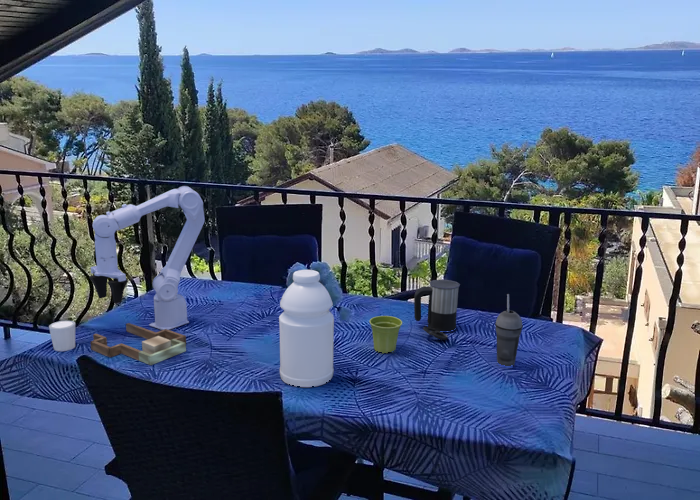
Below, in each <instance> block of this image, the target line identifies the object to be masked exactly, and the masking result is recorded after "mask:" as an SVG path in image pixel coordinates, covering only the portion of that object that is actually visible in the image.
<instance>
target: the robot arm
mask: <svg viewBox="0 0 700 500" xmlns="http://www.w3.org/2000/svg"><path fill="white" fill-rule="evenodd" d="M166 207H170V208H175V209H179V208H181V210H182V213H183V214H184V215H185V219H186V221H185V223H184V224H183V227H182V230H181V232H180V234H179V236H178V239H177V240H176V242H175V245H174V247H173V248H172V252H171V254H170V255H169V258H168V259H167V262H166V264H165V266H164V267H162V268H161V270H160V272H159V273H158V274H157V275H156V276H155V277H154V278H153V280H152V287H153V289H154V290H155V291H154V292H155V295H154V296H153V307H154V309H153V311H154V322H151V323H149V324H148V325H149V327H153V328H156V329H159V330H160V331H162V330H164V329H167V330H170V331H171V330H173V329H174V328H178V327H180V326H183V325H187V324H189V323H190V321H189V320H188V311H187V309H188V308H187V307H188V306H187V301H186V299H185V297H184V296H183V295H182V294H179V289H178V287H179V284H180V282H181V274H182V271H183V269H184V267H185V264H186V263H187V260H188V258H189V257H190V254H191V252H192V250H193V247H194V245H195V243H196V242H197V239H198V236H199V235H200V233H201V230H202V229H203V225H204V224H205V221H206V220H205V212H204V202H203V199H202V198H201V195H200V193H198V192H197V191H195V190H194V189H193V188H191V187H189V186H188V185H182V186H179V187H178V188H173V189H170V190H168V191H166V192H164V193H161V194H159V195H156V196H154V197H153V198H151V199H149V200H146V201H145V202H142V203H139V204H138V205H134V204H131V203H130V204H126V203H124V204H122V205H121V207H119V208H117V209H115V210H112V211H106V212H105V213H106V214H100V215H97V216H96V217H95V218H94V219H93V222H92V228H93V231H94V248H95V250H94V251H95V258H96V259H95V260H96V265H95V266H90V273H91V275H89V276H88V279H89V280H90V281H91V283H92V285H93V286H94V288H95V291H96V294H97V296H98V299H104V298H106V297H107V295H108V289H107V288H108V286H109V288H110V291H111V295H112V300H113V301H112V302H113V303H114V304H119V303H122V300H123V297H124V291H125V288H126V286H127V284H128V282H129V280H128V279H127V277H126V275H127V274H126V273H124V272H123V271H122V270H120V269H119V267H118V253H117V252H118V251H117V242H116V239H115V233H116V232H117V231H120V230H123V229H125V228H128V227H130V226H133V225H134V224H137V223H139V222H140V220H141V218H142V217H143V216H145V215H148V214H149V213H153V212H155V211H158V210H160V209H163V208H166ZM109 278H110V279H111V280H108V279H109ZM107 285H108V286H107Z"/></svg>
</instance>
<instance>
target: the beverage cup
mask: <svg viewBox="0 0 700 500" xmlns="http://www.w3.org/2000/svg"><path fill="white" fill-rule="evenodd" d="M506 296H507V297H506V308H507V309H506V310H504V311H502V312H500V313H499V314H498V316H497V318H496V320H495V323H494V326H495V333H496V361H497V362H498V363H499V364H501V365H505V366H511V365H514V366H515V363H516V360H517V353H518V347H519V343H520V337H521V334H522V330H523V327H524V326H523V320H522V318H521V316H520V315H519V314H518V313H517V312H516V311H514V310H510V294H509V293H507V294H506ZM497 362H496V363H497Z"/></svg>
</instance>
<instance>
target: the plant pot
mask: <svg viewBox="0 0 700 500" xmlns="http://www.w3.org/2000/svg"><path fill="white" fill-rule="evenodd" d="M369 324H370V328H371V330H372V332H371V333H372V339H373V341H372V343H373V349H374V350H375V352H377V351H378V352H377V353H379V352H382V353H381V354H384V353H386V354H389V353H388V352H392V351H394V350H395V351H396V349H397V343H398V337H399V334H400V333H399V331H400V329H401V326H402V325H403V321H402V320H401V319H400V318H398V317H396V316H390V315H378V316H374V317H372V318H370V319H369ZM395 351H394V352H395ZM392 353H393V352H392Z"/></svg>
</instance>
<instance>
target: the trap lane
mask: <svg viewBox="0 0 700 500" xmlns="http://www.w3.org/2000/svg"><path fill="white" fill-rule="evenodd" d="M125 329H126V332H127V333H130V334H132V335H135V336H136V337H137V336H138V337H140V338H143V339H145V340H148V339H151V338H154V337H157V336H160V337H163V338H165V339H168V340H171V347H169V348H167V349H164V350H161V351H159V352H156V353H154V354H148V353H146V352H143V351H142V350H141V349H137V348H135V347H134V346H133V347H132V346H130V345H127V344H124V343H118V344H115V345H113V346H108V340H107V337H106V336H104V335H101V334H98V333H94V334H93V335H92V336H93V337H92V338H93V340H90V342H89V343H90V350H91V351H93V352H96V353H97V354H101V355H103V356H105V357H107V358H113V357H115V356H118V355H124V356H127V357H130V358H132V359H133V360H136V361H138V362H139V361H140V362H142V363H143V364H144V363H145V364H146V365H149V366H153V365H155V364H158V363H160V362H162V361H166V360H168V359H169V358H170V359H171V358H172V357H175V356H177V355H180V354H182V353H185V352H187V335H184V334H182V333H178V332H175V331H172V330H171V329H170V330H167V329H164V330H159V331H153V330H150V329H148V328H144V327H142V326H138V325H136V324H133V323H131V322H128V323H125Z"/></svg>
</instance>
